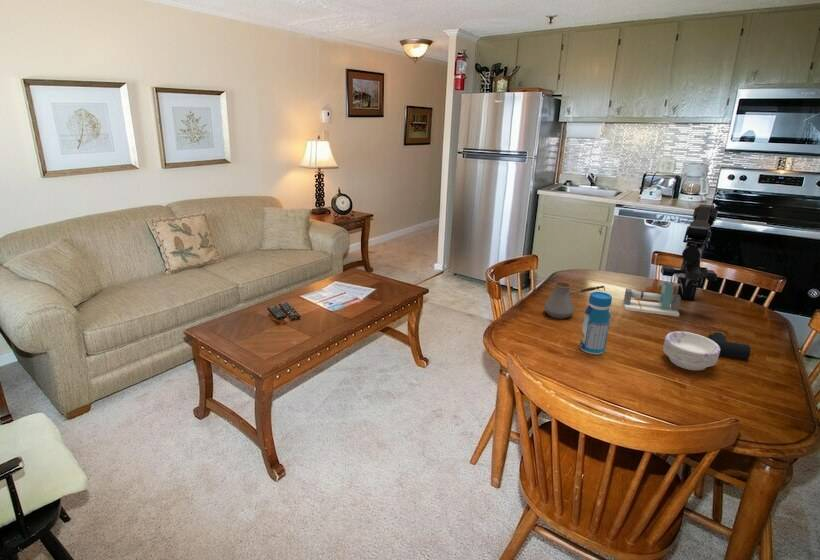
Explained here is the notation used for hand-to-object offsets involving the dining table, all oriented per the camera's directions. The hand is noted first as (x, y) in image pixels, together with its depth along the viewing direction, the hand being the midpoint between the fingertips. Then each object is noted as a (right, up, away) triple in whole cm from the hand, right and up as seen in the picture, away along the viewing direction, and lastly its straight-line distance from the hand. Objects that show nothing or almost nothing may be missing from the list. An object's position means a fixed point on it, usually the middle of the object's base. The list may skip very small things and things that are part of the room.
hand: (683, 293), depth 183 cm
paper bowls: (-21, -22, -36) cm, 47 cm away
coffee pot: (-47, -10, -3) cm, 48 cm away
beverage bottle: (-49, -19, -28) cm, 59 cm away
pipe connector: (-5, -19, -27) cm, 33 cm away
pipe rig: (-10, -7, +6) cm, 14 cm away
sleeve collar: (-6, -5, +4) cm, 8 cm away
